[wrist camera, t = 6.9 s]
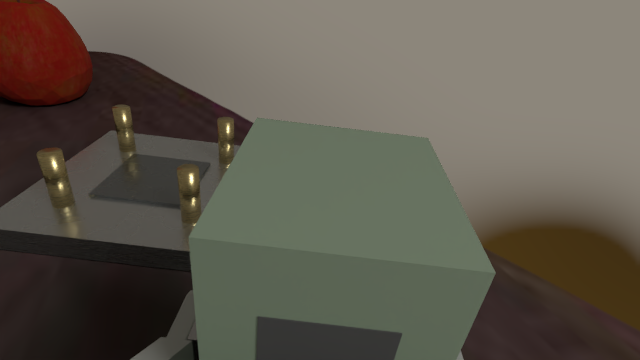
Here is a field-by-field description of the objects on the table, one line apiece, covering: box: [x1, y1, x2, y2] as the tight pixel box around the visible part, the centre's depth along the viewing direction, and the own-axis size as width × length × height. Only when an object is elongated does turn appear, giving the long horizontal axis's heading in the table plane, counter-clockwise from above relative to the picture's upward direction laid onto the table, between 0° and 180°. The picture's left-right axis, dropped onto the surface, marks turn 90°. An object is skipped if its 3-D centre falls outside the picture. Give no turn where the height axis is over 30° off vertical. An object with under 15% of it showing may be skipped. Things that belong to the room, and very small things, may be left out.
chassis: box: [0, 105, 241, 272], centre depth 26 cm, size 14×14×5 cm
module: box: [188, 118, 495, 360], centre depth 11 cm, size 4×5×12 cm
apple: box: [0, 0, 93, 106], centre depth 40 cm, size 10×10×10 cm
